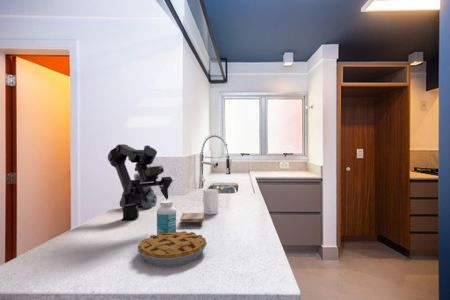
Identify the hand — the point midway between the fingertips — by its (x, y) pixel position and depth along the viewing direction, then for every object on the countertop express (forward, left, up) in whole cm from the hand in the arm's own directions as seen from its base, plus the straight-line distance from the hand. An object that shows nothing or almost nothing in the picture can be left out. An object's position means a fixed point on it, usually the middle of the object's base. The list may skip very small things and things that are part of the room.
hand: (157, 200), depth 107 cm
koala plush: (-19, +50, -13) cm, 55 cm away
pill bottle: (+4, -5, -13) cm, 15 cm away
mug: (+21, +28, -13) cm, 37 cm away
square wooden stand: (+13, +11, -13) cm, 22 cm away
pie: (+9, -22, -13) cm, 28 cm away
